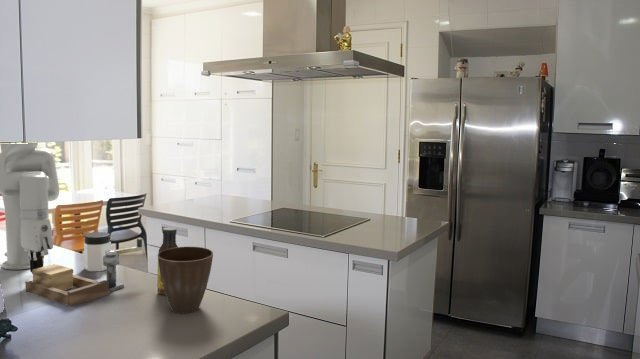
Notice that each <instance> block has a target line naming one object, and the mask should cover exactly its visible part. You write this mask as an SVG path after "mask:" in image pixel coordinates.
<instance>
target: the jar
mask: <svg viewBox="0 0 640 359" xmlns="http://www.w3.org/2000/svg"><path fill="white" fill-rule="evenodd" d="M107 250H112V241H111V233H109V232H104V231H103V232H102V231H101V232H100V231H97V232H89V233H86V234H85V235H84V242H83V256H84V257H83V258H84V263H83V265H84V269H85V270H86V271H87V272H103V271H106V266H104V265H103V256H105V251H107Z"/></svg>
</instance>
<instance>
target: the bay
mask: <svg viewBox="0 0 640 359" xmlns="http://www.w3.org/2000/svg"><path fill="white" fill-rule="evenodd" d="M24 287H25V293H28V294H32V295H35V296H37V297H41V298H44V299H47V300H50V301H53V302H56V303H58V304H62V305H65V306H68V307H74V306H77V305H79V304H84V303H86V302H88V301H89V302H90V301H92V300H94V299H98V298H101V297H103V296H107V295H109V294H110V292H109V282H108V281H107V279H106V280H105V279H104V280H101V281H99V280H96V279H95V280H94V279H90V278H87V277H84V276H80V275H78V274H77V275H76V274H73V288H75V289H71V290H68V291H66V290H64V291H63V290H60V289H56V288H53V287H50V286H46V285H43V284H40V283H37V282H33V280H28V281H25V286H24Z"/></svg>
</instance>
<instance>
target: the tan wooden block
mask: <svg viewBox="0 0 640 359" xmlns="http://www.w3.org/2000/svg"><path fill="white" fill-rule="evenodd" d="M31 274H32V281H33V282H37V283H40V284H43V285H46V286H50V287H53V288H56V289H60V290H63V291H66V290H69V289H73V288H74V287H73V275H74V269H73V268H71V267H66V266H63V265H61V264H56V263H53V264H49V265H45V266H43V267H41V268H37V269H33V271H32V272H31Z"/></svg>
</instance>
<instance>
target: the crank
mask: <svg viewBox="0 0 640 359" xmlns="http://www.w3.org/2000/svg"><path fill="white" fill-rule="evenodd" d="M140 251H143V238H136V246H132V247H125V248H120V249H111V250H107V251H105V256H106V257H114V256H116V255H124V254H129V253H135V252H140Z"/></svg>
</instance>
